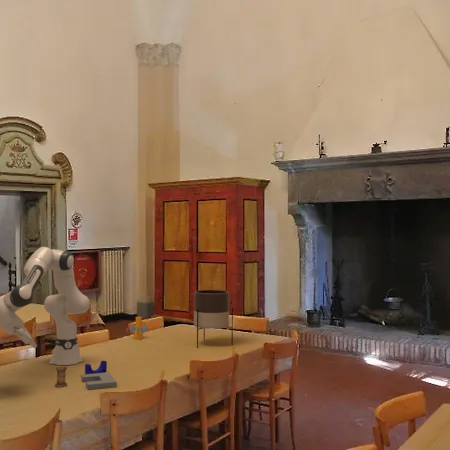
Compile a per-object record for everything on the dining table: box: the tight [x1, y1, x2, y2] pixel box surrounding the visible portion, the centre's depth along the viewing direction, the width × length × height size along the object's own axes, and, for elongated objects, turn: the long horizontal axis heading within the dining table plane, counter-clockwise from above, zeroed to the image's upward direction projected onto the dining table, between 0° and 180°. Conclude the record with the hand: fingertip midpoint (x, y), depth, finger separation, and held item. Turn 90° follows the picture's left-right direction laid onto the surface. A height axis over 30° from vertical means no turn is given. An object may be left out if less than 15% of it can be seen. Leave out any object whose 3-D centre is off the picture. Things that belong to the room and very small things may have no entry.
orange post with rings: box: [129, 316, 148, 340], centre depth 412 cm, size 12×10×15 cm
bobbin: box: [54, 365, 68, 388], centre depth 292 cm, size 6×6×9 cm
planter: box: [193, 289, 234, 349], centre depth 393 cm, size 26×25×35 cm
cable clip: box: [84, 360, 108, 374], centre depth 315 cm, size 12×4×6 cm, turn 141°
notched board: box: [80, 371, 118, 391], centre depth 297 cm, size 20×14×2 cm
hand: (35, 344), depth 287 cm, fingers open, 8 cm apart
